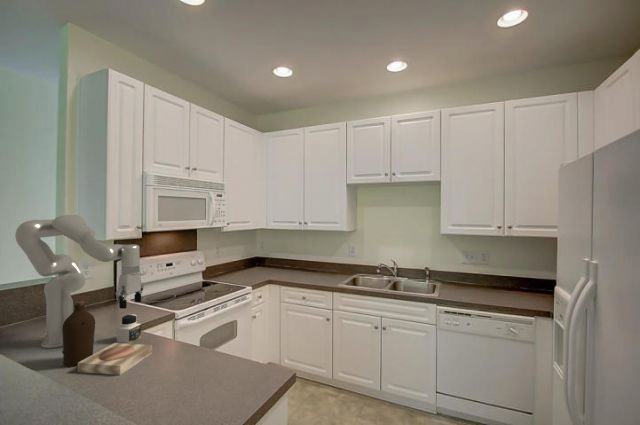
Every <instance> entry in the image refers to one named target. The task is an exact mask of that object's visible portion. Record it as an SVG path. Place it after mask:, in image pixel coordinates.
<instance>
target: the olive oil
mask: <svg viewBox="0 0 640 425" xmlns="http://www.w3.org/2000/svg"><path fill="white" fill-rule="evenodd" d="M85 308H86V304H85V300H83V299H82V300H76V301H75V302H74V304H73V313H72V314H71V315H70V316H69V317H68V318H67V319H66V320H65V321H64V324H63V327H62V333H63V346H62V351H61V354H62V355H63V357H62V358H63V366H64V367H67V368H73V367H78V362H80V361H82V360H84V359H86V358H88V357H90V356H91V355H93V354H94V344H95V343H94V342H95V332H96V331H95V330H96V319H95V317H94V315H93V314H92V313H90V312H89V311H87V309H85Z"/></svg>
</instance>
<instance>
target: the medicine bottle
mask: <svg viewBox="0 0 640 425" xmlns="http://www.w3.org/2000/svg"><path fill="white" fill-rule="evenodd" d="M137 319H138V317H137V315H136V314H126V315H124V316H122V317H121V325H120V326H117V328H116V343H125V344H133V342H134V343H135V341H137V340H139V339H141V337H142V324H141V323H140V322H139V323H138V321H137Z"/></svg>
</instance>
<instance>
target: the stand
mask: <svg viewBox="0 0 640 425" xmlns="http://www.w3.org/2000/svg"><path fill="white" fill-rule="evenodd" d="M152 354H153V345H152V344H137V343H136V344H135V343H130V344H127V343H119V342H114V343H112V344H109V346H107V347H105V348H102V349H101V350H99V351H96V352H95V353H93V355H91V356H90V357H88V358H86V359H84V360H82V361H80V362H78V366H77V372H78V373H88V374H103V375H113V376H114V375H116V376H121V375H123V374H124V373H126V372H127V371H128V370H130V369H131V368H133V367H134V366H136V365H138V363H140V362H141V361H143V360H144V359H146V358H147V357H149V356H150V355H152Z"/></svg>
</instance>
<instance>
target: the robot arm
mask: <svg viewBox="0 0 640 425" xmlns="http://www.w3.org/2000/svg"><path fill="white" fill-rule="evenodd" d="M95 235H96V231H95V230H94V229H93V228H92V227H89V226H87V222H86V220H85V219H84V218H83V217H82V216H80V215H70V214H67V215H66V214H65V215H63V214H62V215H59V216H57V217H55V218H54V219H31V220H26V221H24V222H22V223H20V225H18V227H17V228H16V231H15V241H16V243H17V245H18V247H20V249H21V250H22V251H23V253H24V254H25V255H26V257H27V258H28V260H29V262H30V263H31V265H32V266H33V268H34V269H35V271H36V273H37V274H38V275H39V276H40V277H51V279H49V280H47V282H46V283H45V285H44V288H43V292H44V296H45V302H46V313H45V314H46V319H45V320H46V321H45V322H46V323H45V324H46V325H45V326H46V327H45V332H43V333H42V335H40V339H43V342H41V346H40V347H41V348H43V349H56V348H60V347H63V333H62V327H63V324H64V321H65V320H66V319H67V318H68V317H69V316H70V315H71V314H72V313H73V312H74V301H73V298H72V295H71V294H72V293H75V292H76V291H79V290H81V289H82V288H84V286H85V284H86V280H85V279H86V278H85V275H84V274H83V272H82V271H81V269H80V267H79V266H78V264H77V263H76V260H74V258H72V257H71V256H70V255H68V254H64V253H59V254H55V253H54V252H53V250H52V248H51V247H50V246H49V244H48V243H46V242H45V241H44V240H42V239H41V238H49V237H56V236H57V237H58V236H64V237H66V238H68V239H70V240H72V242H75V243H76V244H79V245H80V248H81V249H82V251H83V252H84V253H85V254H87V255H88V256H90V257H92V258H93V259H95V260H96V261H97V260H98V261H99V262H103V263H109V262H113V261H116V260H120V261H121V262H120V263H121V264H120V265H121V266H120V268H121V270H120V271H121V274H119V279H118V288H117V289H118V290H117V291H116V292H115V296H116V298H117V300H118V301H119V304H118V305H119V309H127V301H128V300H127V297H128V296H129V295H132V294H134V303H142V294H143V290H144V288H145V287H144V286H145V283H143V282H142V277H141V276H142V275H141V272H140V269H141V268H140V266H141V264H140V260H141V259H140V256H141V255H140V245H138V244H118V243H116V244H109V245H106V244H104V243H102V242H101V241H99V240H97V239H96V238H95ZM53 276H54V277H53Z"/></svg>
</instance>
